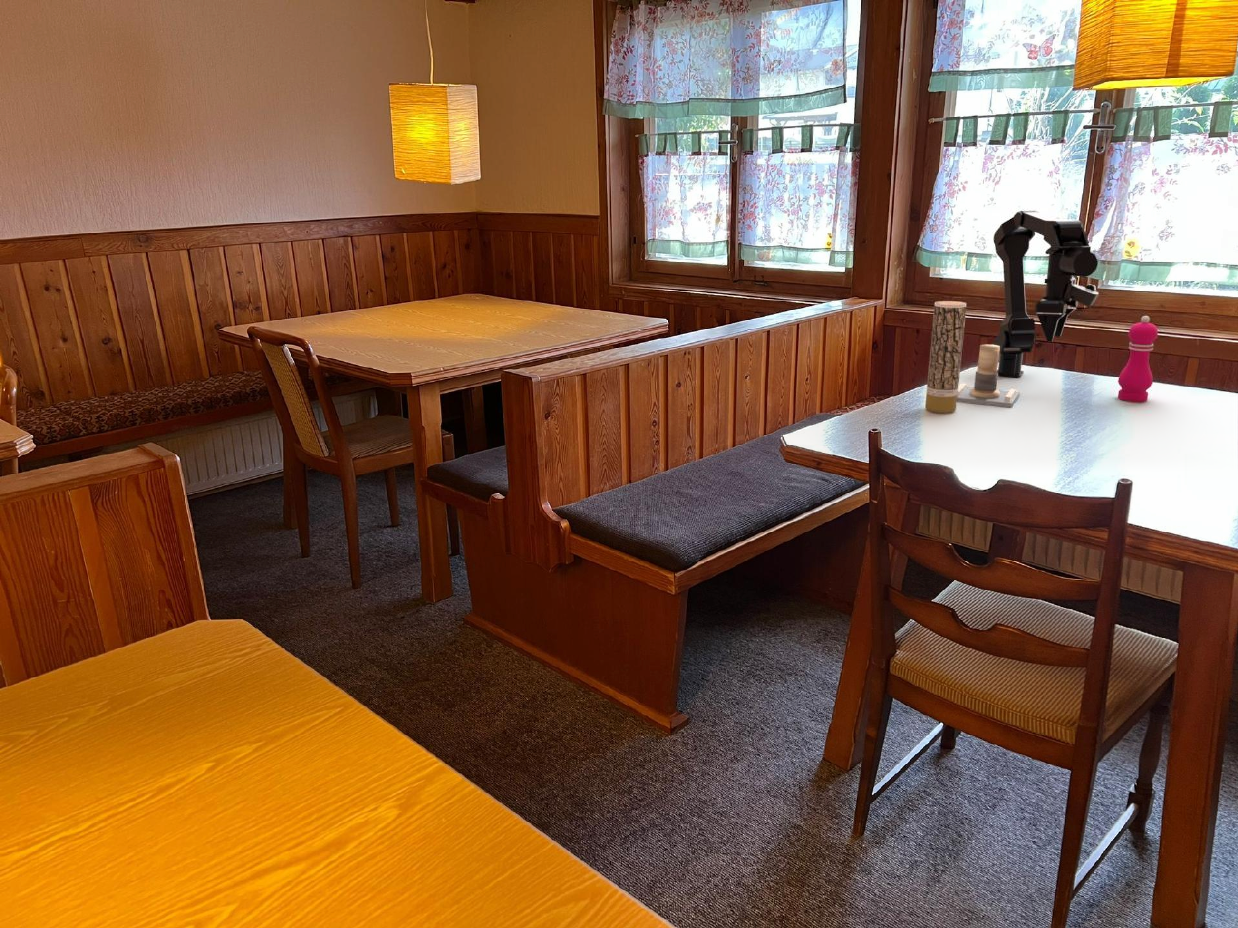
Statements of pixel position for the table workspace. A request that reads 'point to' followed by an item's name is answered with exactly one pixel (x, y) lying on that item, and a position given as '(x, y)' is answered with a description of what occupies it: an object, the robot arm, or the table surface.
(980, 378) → the bobbin
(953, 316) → the wooden log
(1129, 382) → the pepper mill
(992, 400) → the board
